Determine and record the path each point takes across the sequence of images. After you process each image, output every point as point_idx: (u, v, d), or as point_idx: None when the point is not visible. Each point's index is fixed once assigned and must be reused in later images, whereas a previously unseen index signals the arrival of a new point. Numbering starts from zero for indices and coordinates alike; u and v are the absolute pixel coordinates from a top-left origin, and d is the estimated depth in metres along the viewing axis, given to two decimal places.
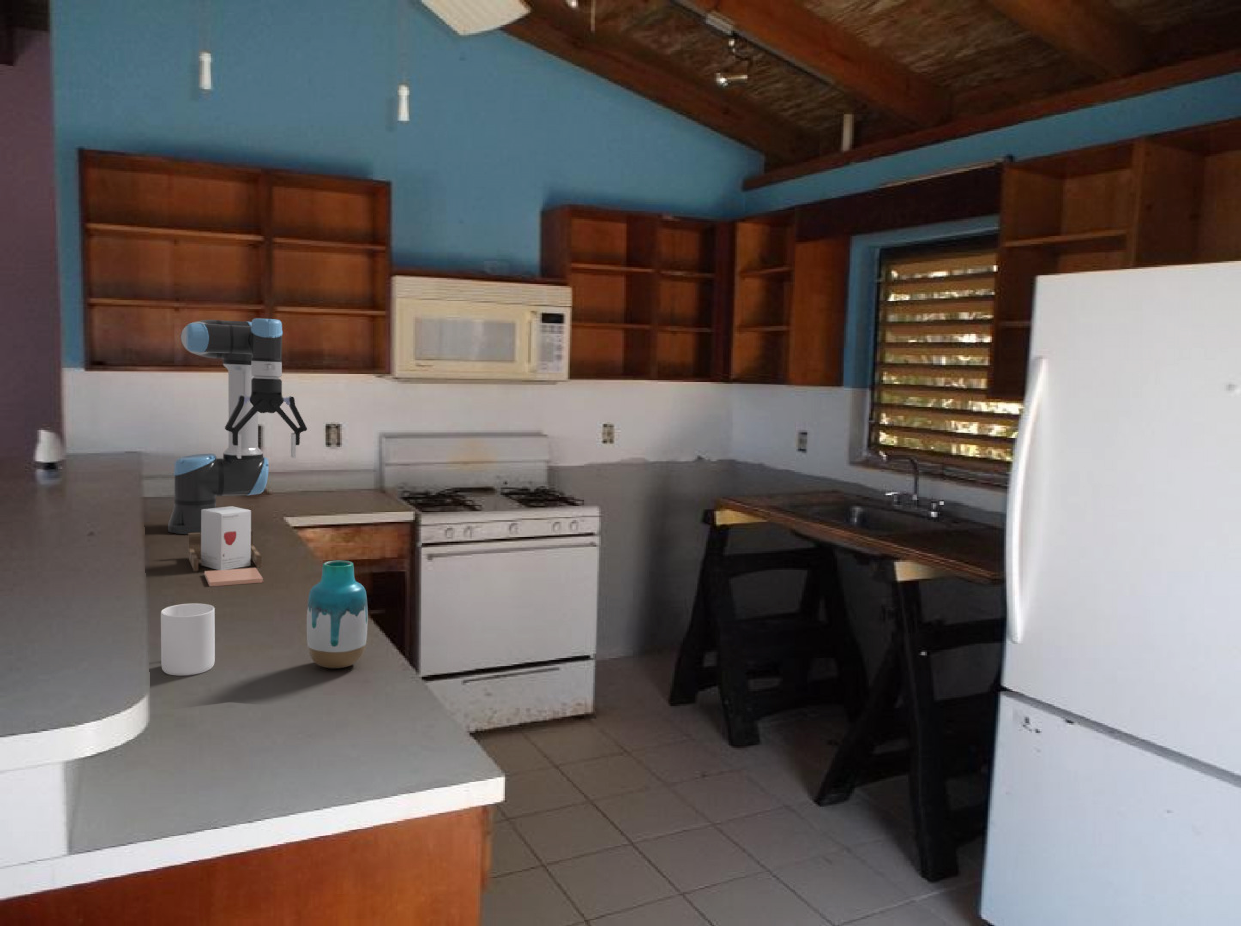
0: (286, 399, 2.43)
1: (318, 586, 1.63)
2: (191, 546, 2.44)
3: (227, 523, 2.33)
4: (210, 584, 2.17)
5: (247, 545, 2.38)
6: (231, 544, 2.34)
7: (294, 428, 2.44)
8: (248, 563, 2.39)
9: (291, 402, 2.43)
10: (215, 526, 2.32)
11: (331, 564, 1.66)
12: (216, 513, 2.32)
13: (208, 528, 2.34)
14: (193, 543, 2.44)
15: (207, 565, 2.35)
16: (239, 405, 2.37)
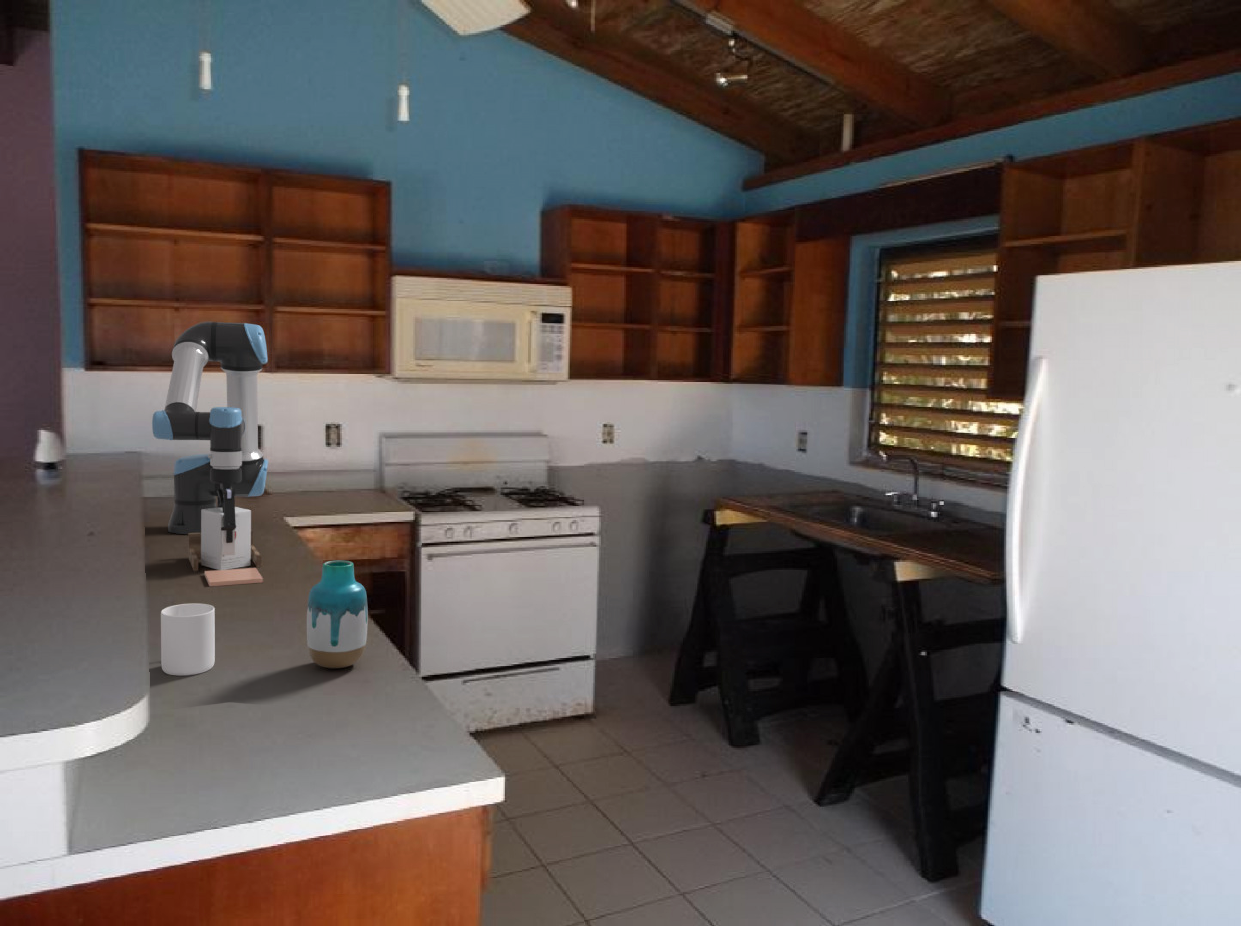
0: None
1: (318, 586, 1.63)
2: (191, 546, 2.44)
3: None
4: (210, 584, 2.17)
5: (247, 544, 2.38)
6: None
7: None
8: (248, 563, 2.39)
9: (223, 496, 2.30)
10: (215, 526, 2.32)
11: (331, 564, 1.66)
12: (216, 513, 2.32)
13: (208, 528, 2.34)
14: (193, 543, 2.44)
15: (207, 565, 2.35)
16: None
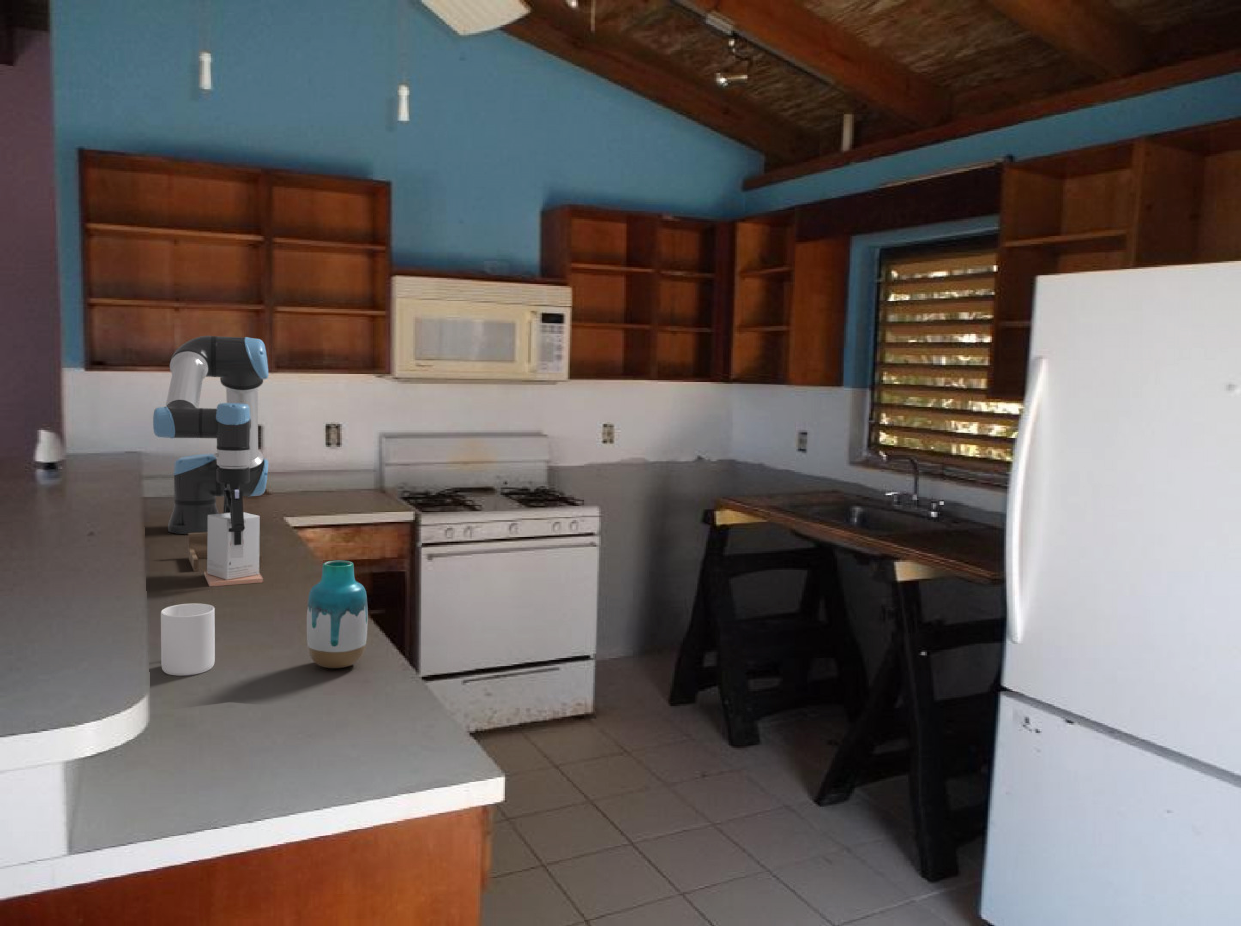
0: None
1: (318, 586, 1.63)
2: (191, 546, 2.44)
3: None
4: (210, 584, 2.17)
5: (255, 552, 2.25)
6: None
7: (231, 525, 2.17)
8: (256, 571, 2.26)
9: (231, 496, 2.17)
10: (221, 532, 2.19)
11: (331, 564, 1.66)
12: (222, 519, 2.19)
13: (214, 535, 2.21)
14: (193, 543, 2.44)
15: (213, 574, 2.23)
16: None
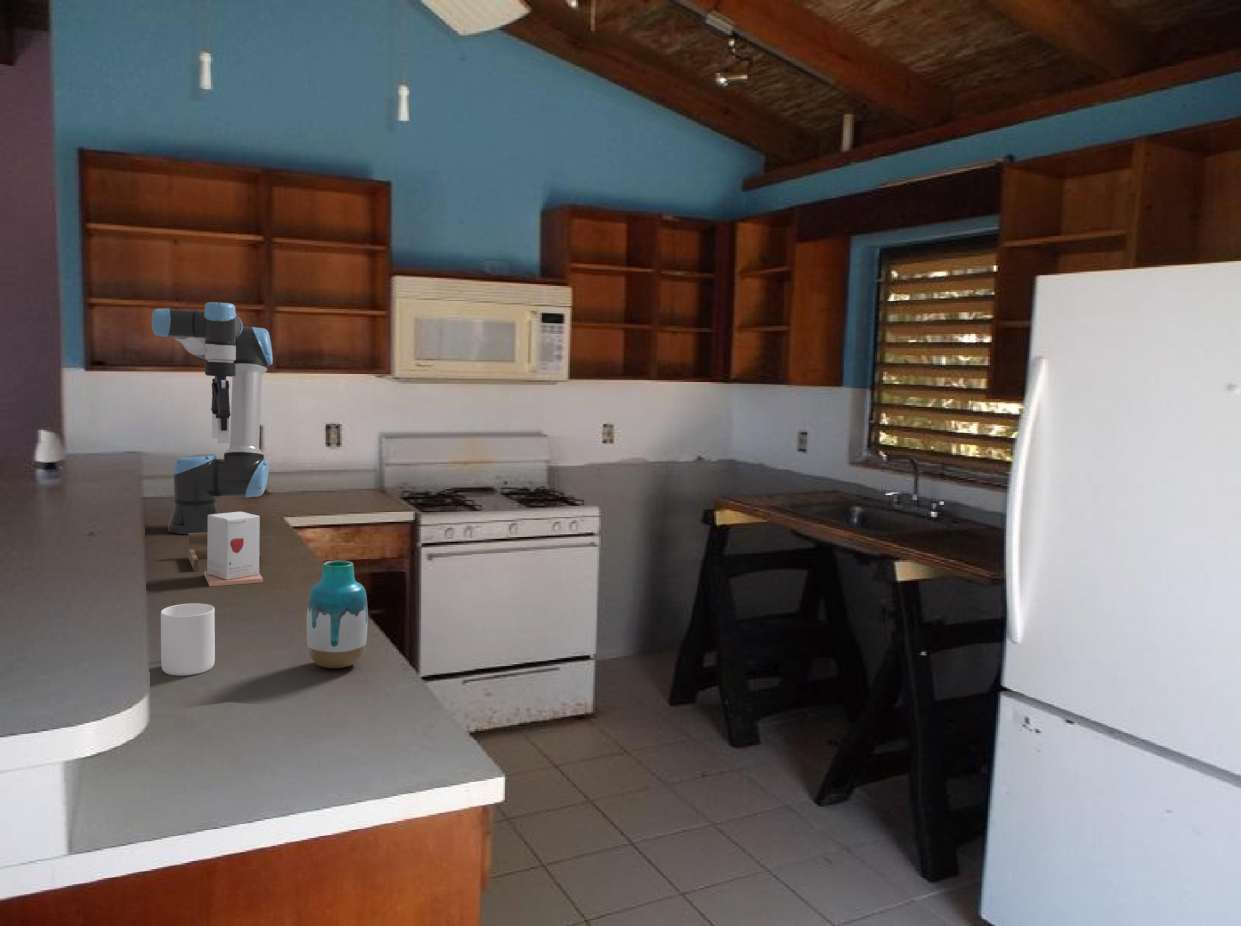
0: None
1: (318, 586, 1.63)
2: (191, 546, 2.44)
3: (234, 529, 2.20)
4: (210, 584, 2.17)
5: (255, 552, 2.25)
6: (238, 552, 2.21)
7: (218, 412, 2.38)
8: (256, 571, 2.26)
9: (218, 386, 2.38)
10: (221, 532, 2.19)
11: (331, 564, 1.66)
12: (222, 519, 2.19)
13: (214, 535, 2.21)
14: (193, 543, 2.44)
15: (213, 574, 2.23)
16: None
